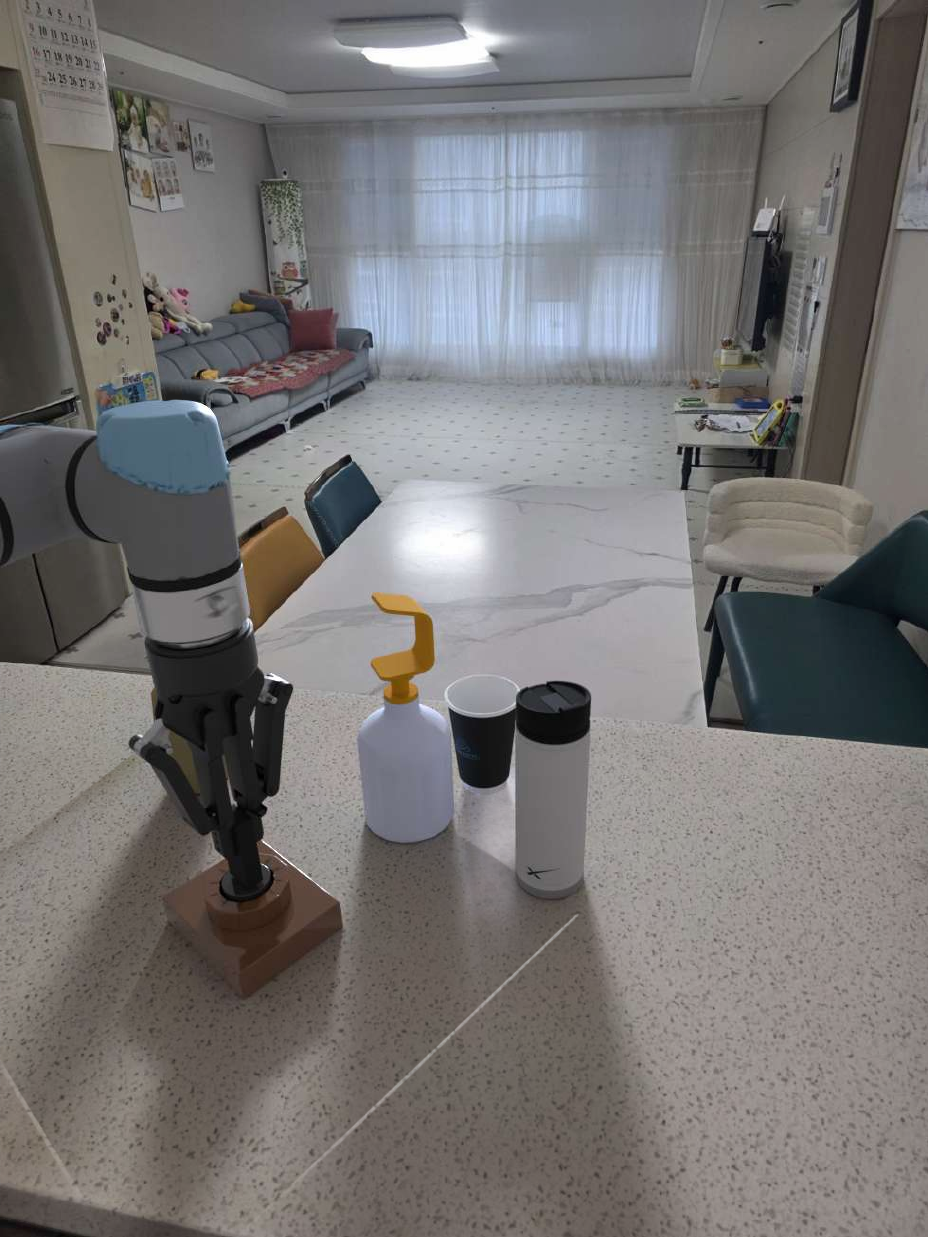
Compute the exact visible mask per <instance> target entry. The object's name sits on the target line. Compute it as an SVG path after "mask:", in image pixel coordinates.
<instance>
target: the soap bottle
mask: <svg viewBox="0 0 928 1237" xmlns="http://www.w3.org/2000/svg"><path fill="white" fill-rule="evenodd" d="M371 600H372V601H373V602H374V603H375V604H376V606H377V607H378V609H379V610H380V611H381V612H383V613H385V614H390V615H398V616H409V617H414V618H413V620H414V637H415V640H414V644H413V646H411V648H410V649H408V650H407V649H406V650H404V651H400V652H395V653H391V654H386V655H381V656H378V657H373V658H372V659H371V660H370V666H371V668H372V670H373V671H374V673H375V674H376V676H377V677H378V678H379V680H381V681H384V682H389V684H388V685H386V686H385V687H384V689H383V691H382V692H383V696H382V697H383V706H382V707H380V708H378V709H377V710H375V711H373V713H371V714H370V715H369V716H368V717H366V719H365V720H363V722H362V723H361V726H360V730H359V732H358V735H357V738H356V742H357V743H356V744H357V753H358V754H357V755H358V761H359V772H360V781H361V790H362V800H363V810H364V811H363V812H364V817H365V822H366V825H367V826H368V827H369V829H370V830H371V831H372V833H373V834H375V835H376V836H378V837H379V838H382V839H384V840H385V841H389V842H393V843H400V844H406V843H409V844H410V843H419V842H422V841H426V840H429V839H432V838H434V837H435V836H437V835H438V834H440V833H441V832H443V831H445V829H446V828H447V827H448V825H449V824H450V823H451V821H452V819H453V816H454V811H455V801H454V800H455V798H454V796H455V795H454V776H453V773H454V772H453V751H452V732H451V730H450V728H449V725H448V723H447V721H446V719H445V717H444V716H443V715H442V714H440V713H439V712H438V711H437V710H435V709H433V708H431V707H430V706H427V705H425V704H421V703H420V695H419V689H418V686H417V685H416V684H414V683H413V682H410V681H411V680H412V679H414V677H415V676H416V675H421V674H425V673H427V672H428V671H429V672H430V670H431V669H432V668H433V667H434V664H435V660H436V658H435V640H434V638H435V636H434V623H433V618H432V617H430V615H429V614H428V613H427V612H426V611H425V610H424V609H423V607H421V606H420V605H419V603H418V602H417V601H416V600H415V599H414V598H413V597H411V596H410V595H406V594H397V593H386V592H372V594H371Z"/></svg>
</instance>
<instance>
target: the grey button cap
mask: <svg viewBox="0 0 928 1237" xmlns="http://www.w3.org/2000/svg"><path fill="white" fill-rule="evenodd" d="M260 864H261V863H260ZM261 869H262V875H263V880H262V881H260V882H259V883H257V884H256V885H254V886H253V887H251V888H249V889H247V888H246V887H245V886H244V885H243V884H242V883H240V882H239V881H238V880H237V879H236V878H235V877H234V876H232V875H231V874H230V870H229V871H228V872H227V873H226V874H225V875H224V877H223V880H222V889H223V894H224V898H225V899H226V900H228V901H233V902H239V903H242V902H246V901H250V900H255V899H257V898H259V897H260V896H262V895H263V894H265V893H266V892H268V891H269V889H270V887H271V886H272V881H271V875H270V871H269V869H268V868H267V867H266V866H265V865H264V864H261Z"/></svg>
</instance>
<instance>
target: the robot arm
mask: <svg viewBox="0 0 928 1237" xmlns="http://www.w3.org/2000/svg"><path fill="white" fill-rule="evenodd" d="M233 499H234V498H233V492H232V484H231V466H230V463H229V461H228V459H227V455H226V451H225V448H224V443H223V440H222V434H221V429H220V426H219V421H218V419H217V416H216V415H215V413H214V412H213V411H212V409H210V408H209V407H208V406H206V405H204V404H203V403H201V402H197V401H192V400H185V399H183V400H182V399H170V400H146V401H140V402H139V401H138V402H132V403H127V404H123V405H119V406H115V407H113V408H109V409H107V410H105V411H104V412H103V413H101V414H100V415H99V416H98V418H97V419H96V422H95V430H91V429H80V428H71V427H60V426H56V425H52V424H44V423H41V422H27V423H24V424H6V425H5V424H3V425H0V568H3V567H5V566H7V565H9V564H12V563H14V562H16V561H20V560H22V559H24V558H26V557H29V556H30V555H33V554H36V553H38V552H40V551H43V550H45V549H47V548H50V547H52V546H54V545H56V544H59V543H61V542H64V541H67V540H72V539H81V540H87V541H93V542H100V543H106V544H107V543H108V544H120V545H121V548H122V552H123V554H124V558H125V562H126V566H127V567H126V570H127V575H128V579H129V581H130V585H131V590H132V594H133V599H134V604H135V609H136V614H137V619H138V624H139V627H140V628H139V629H140V631H141V632H142V634H143V635H144V636H145V638H144V648H145V653H146V658H147V662H148V666H149V670H150V673H151V674H150V675H151V679H152V683H153V685H154V686H155V689H156V692H157V702H156V706H155V709H154V715H155V718H156V721H155V722H154V721H153V723H152V724H151V725H150V727H149V728H148V729H147V731H146V732H145V733H144V734H139V733H138V734H137V733H136V734H135V735H132V737H130V739H129V740H128V747H129V749H130V750H132V752H134V753H135V754H137V755H138V756H139V757H140V758H142V759H143V761H145V762H146V763H148V764H149V765H150V767H151V769H152V770H153V772H154V774H155V775H156V777H157V779H158V780H159V782H160V784H161V785H162V788H164V790H165V792H166V794H167V795H168V797H169V799H170V800H171V802H172V803H173V805H174V807H175V809H176V810H177V813H179V815H180V817H181V819H182V820H183V821H184V822H185V823H186V824H187V825H188V826H190V828H191V829H193V830H194V831H195V832H196V833H198V834H199V835H200V836H202V837H205V836H207V835H209V834H210V833H211V837H212V842H213V846H214V850H215V851H216V853H218V854H219V855H220V856H222V858H224V859H226V860H228V865H229V870H230V874H231V875H232V876H234V877H235V878H236V879H237V880H238V881H239V882H240V883H242V884H243V885H244V886H245V887H246V888H247V889H249V888H251V887H253V886H254V885H256V884H257V883H259V882H260V881H262V880H263V875H262V869H261V864H260V858H259V853H258V847H257V842H258V841H260V840H263V839H264V837H265V836H264V835H265V830H264V824H263V819H262V818H263V817H265V816H266V815H267V812H268V807H267V806H266V805H265V804H264V803H263V802H264V801H265V800H266V799H267V798H268V797H269V798H272V797H275V796H276V795H277V794H278V793H279V792H280V785H281V772H282V762H283V761H282V759H283V746H284V734H285V721H286V710H287V708H288V705H289V703H290V700H291V697H292V695H293V692H294V685H293V684H292V683H291V682H288V681H287V680H285V679H284V678H281V677H280V676H278V675H276V674H274V673H270V672H269V673H268V674H266V675H265V674H264V672H263V671H262V669H260V667H259V654H258V648H257V642H256V635H255V630H254V624H253V621H252V620H251V619H250V618H249V616H250V615H251V607H250V602H249V596H248V590H247V583H246V578H245V571H244V566H243V560H242V552H241V549H240V545H239V537H238V532H237V524H236V517H235V516H236V514H235V509H234V508H235V507H234V500H233ZM154 686H153V687H154ZM253 713H254V717H253V727H252V720H251V718H252V715H253ZM171 731H172V732H173V733H175V734H177V735H178V736H180V737H181V738H183V739H185V740H186V741H187V744H188V746H189V748H190V749H191V752H192V756H193V761H194V766H195V771H196V775H197V780H198V785H199V790H200V798H201V801H200V799H199V797H198V794H196V793H195V792H194V790H193V788H192V786H191V785H190V783H189V781H188V779H187V778H186V776H185V774H184V772H183V771H182V769H181V767H180V766H179V764H178V763H177V761H176V760H175V759H174V758H173V757H171V756H170V755H171V754H172V753H173V748H172V742H171V741H170V739H169V735H170V733H171ZM222 755H224V756H225V761H226V766H227V771H228V776H229V778H228V779H226V774H225V769H224V763H223V758H222ZM228 780H229V785H228ZM229 786H230V789H229ZM230 791H231V795H230ZM231 796H232V799H233V801H234V802H235V803H236V804H234V803H232V800H231Z"/></svg>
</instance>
